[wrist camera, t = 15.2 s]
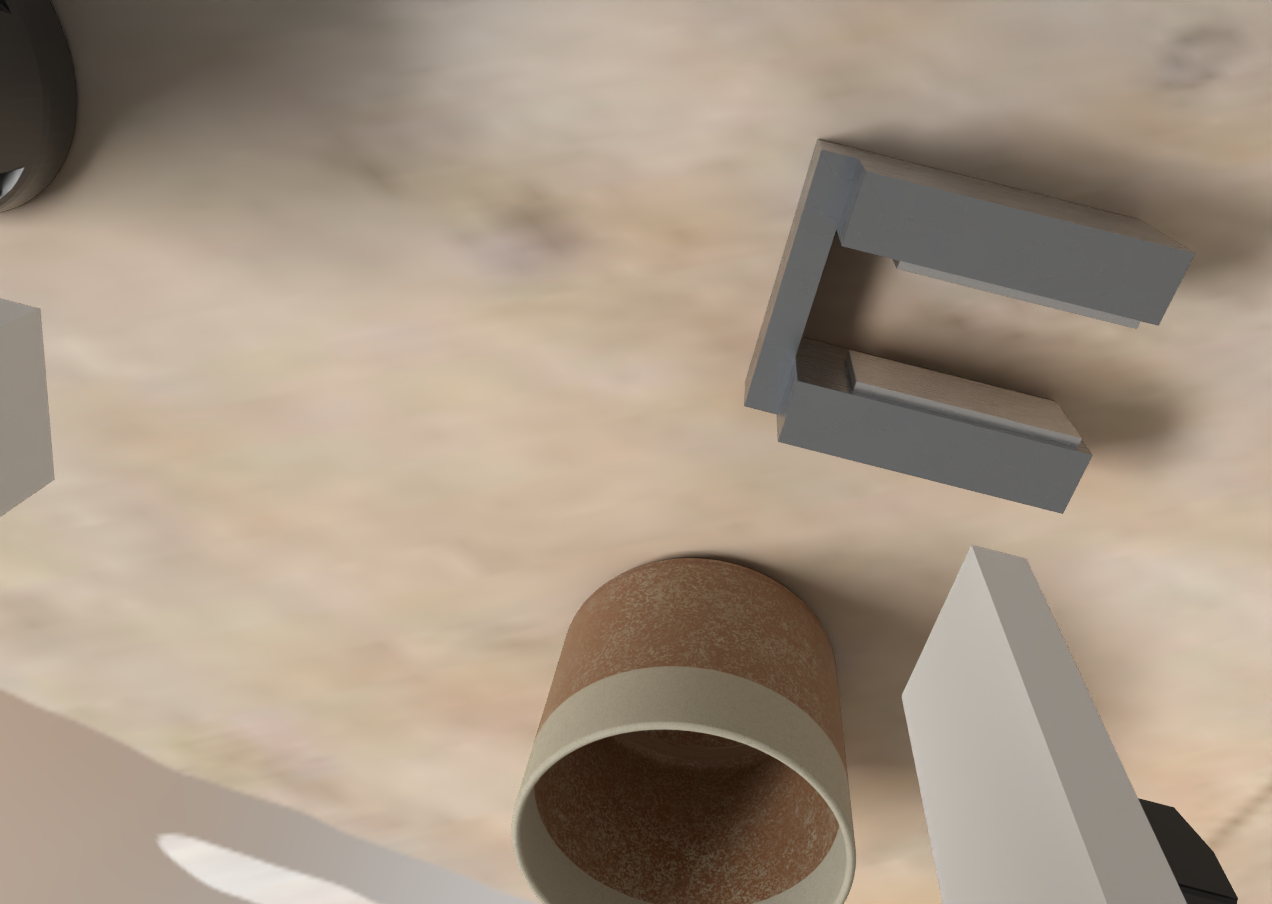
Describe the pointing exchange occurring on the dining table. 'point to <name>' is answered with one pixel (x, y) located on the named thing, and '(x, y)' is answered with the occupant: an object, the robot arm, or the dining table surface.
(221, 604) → the dining table surface
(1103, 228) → the vise
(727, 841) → the planter
